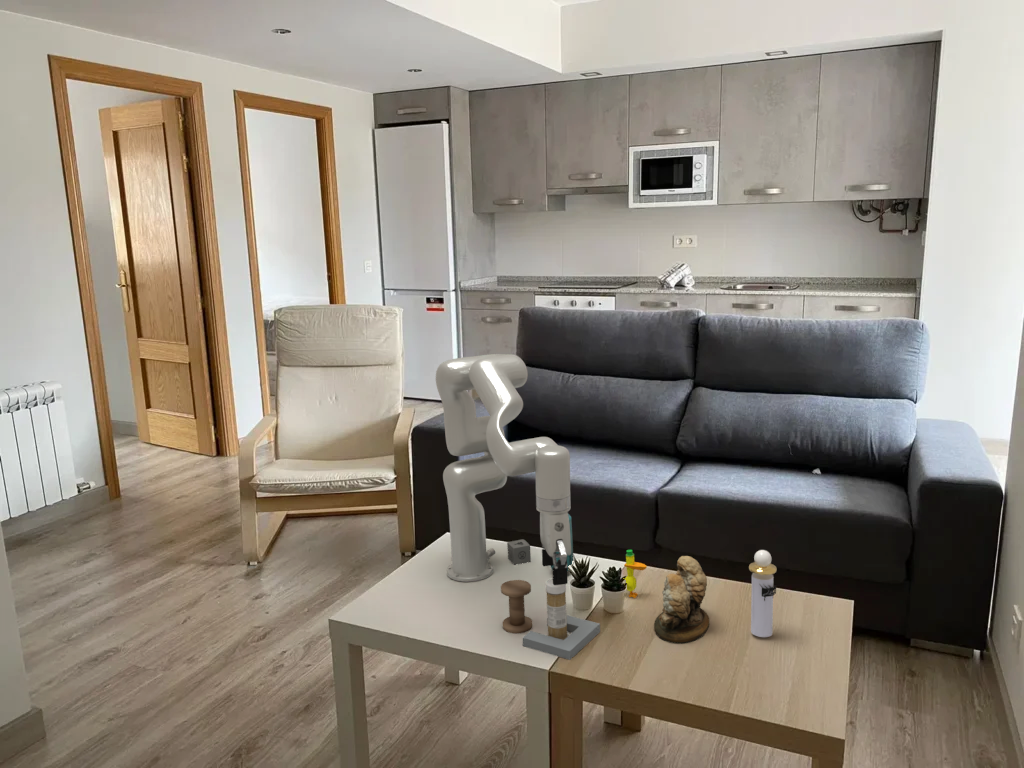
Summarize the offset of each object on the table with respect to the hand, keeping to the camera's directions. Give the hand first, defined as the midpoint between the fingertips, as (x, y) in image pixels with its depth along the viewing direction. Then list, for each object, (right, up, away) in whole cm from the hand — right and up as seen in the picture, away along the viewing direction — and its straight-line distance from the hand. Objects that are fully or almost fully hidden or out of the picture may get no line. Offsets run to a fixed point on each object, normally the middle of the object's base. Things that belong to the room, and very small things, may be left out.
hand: (554, 574), depth 176 cm
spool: (-8, -14, +8) cm, 18 cm away
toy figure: (+21, -11, +21) cm, 31 cm away
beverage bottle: (+4, -9, +37) cm, 38 cm away
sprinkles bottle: (+1, -15, +2) cm, 15 cm away
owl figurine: (+30, -13, +6) cm, 33 cm away
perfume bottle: (+46, -14, 0) cm, 48 cm away
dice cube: (-7, -7, +46) cm, 47 cm away
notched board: (+2, -15, +2) cm, 15 cm away
